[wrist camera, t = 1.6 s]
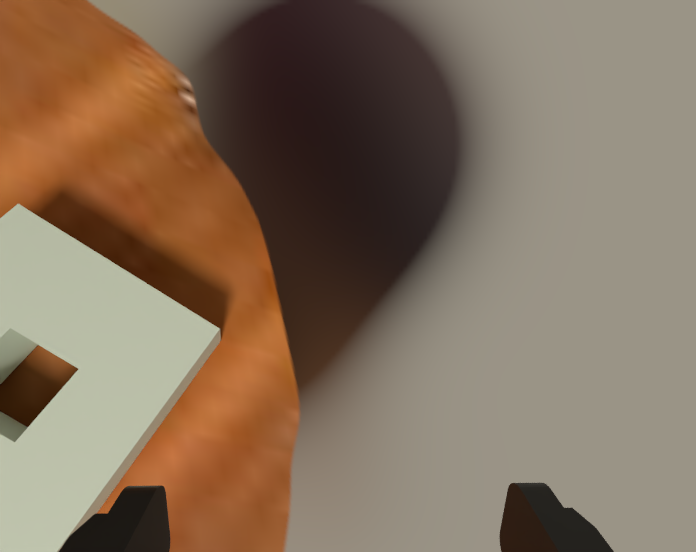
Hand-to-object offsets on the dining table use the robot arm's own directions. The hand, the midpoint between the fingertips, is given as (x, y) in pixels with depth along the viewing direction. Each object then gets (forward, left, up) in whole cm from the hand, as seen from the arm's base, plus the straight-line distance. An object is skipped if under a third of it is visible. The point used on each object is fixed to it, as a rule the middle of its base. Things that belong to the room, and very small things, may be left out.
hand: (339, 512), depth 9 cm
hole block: (-15, -4, -23) cm, 28 cm away
